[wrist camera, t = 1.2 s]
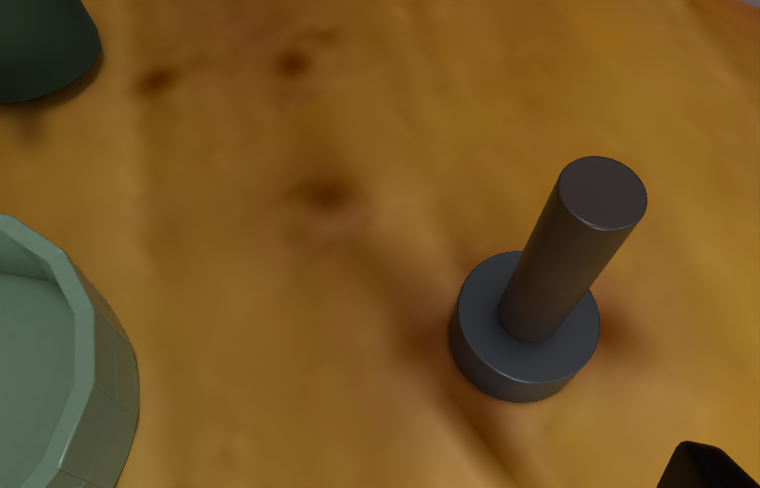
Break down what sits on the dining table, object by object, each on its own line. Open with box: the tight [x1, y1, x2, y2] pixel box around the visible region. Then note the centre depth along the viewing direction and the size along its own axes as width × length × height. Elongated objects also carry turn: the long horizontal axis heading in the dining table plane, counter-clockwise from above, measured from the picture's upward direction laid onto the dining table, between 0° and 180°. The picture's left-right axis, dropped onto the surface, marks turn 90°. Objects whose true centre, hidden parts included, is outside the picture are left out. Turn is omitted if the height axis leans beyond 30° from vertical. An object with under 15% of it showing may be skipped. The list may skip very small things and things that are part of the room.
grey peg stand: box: [449, 156, 647, 402], centre depth 20 cm, size 5×5×10 cm
